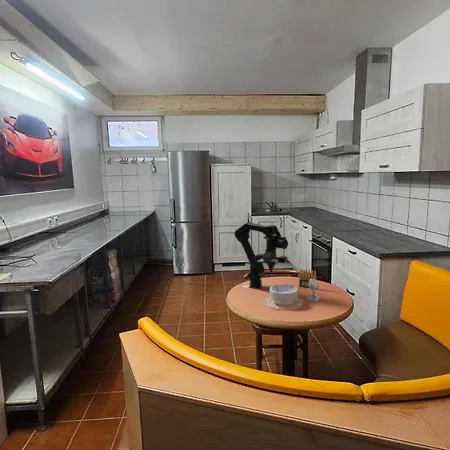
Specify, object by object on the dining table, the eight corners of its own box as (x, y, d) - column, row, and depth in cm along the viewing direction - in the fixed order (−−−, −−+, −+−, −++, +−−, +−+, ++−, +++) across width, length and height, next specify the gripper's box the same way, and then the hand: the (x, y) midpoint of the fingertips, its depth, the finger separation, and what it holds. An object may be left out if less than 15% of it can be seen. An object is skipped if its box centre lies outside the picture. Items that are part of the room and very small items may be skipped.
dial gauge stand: (306, 300, 185) (307, 279, 183) (309, 296, 190) (310, 276, 189) (317, 301, 182) (318, 280, 181) (320, 298, 188) (320, 277, 186)
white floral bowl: (276, 308, 173) (276, 294, 172) (265, 298, 188) (265, 285, 187) (302, 305, 177) (303, 291, 176) (290, 296, 192) (290, 282, 190)
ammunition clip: (298, 287, 208) (299, 268, 206) (299, 286, 209) (300, 267, 208) (315, 289, 202) (316, 270, 201) (316, 288, 204) (317, 269, 202)
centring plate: (256, 305, 178) (256, 305, 178) (270, 293, 197) (271, 292, 197) (296, 313, 168) (296, 312, 168) (307, 299, 187) (307, 298, 187)
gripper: (251, 247, 194) (251, 273, 196) (281, 250, 185) (281, 277, 187) (258, 244, 204) (258, 269, 206) (288, 247, 195) (287, 272, 197)
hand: (271, 272), depth 199 cm, fingers closed
